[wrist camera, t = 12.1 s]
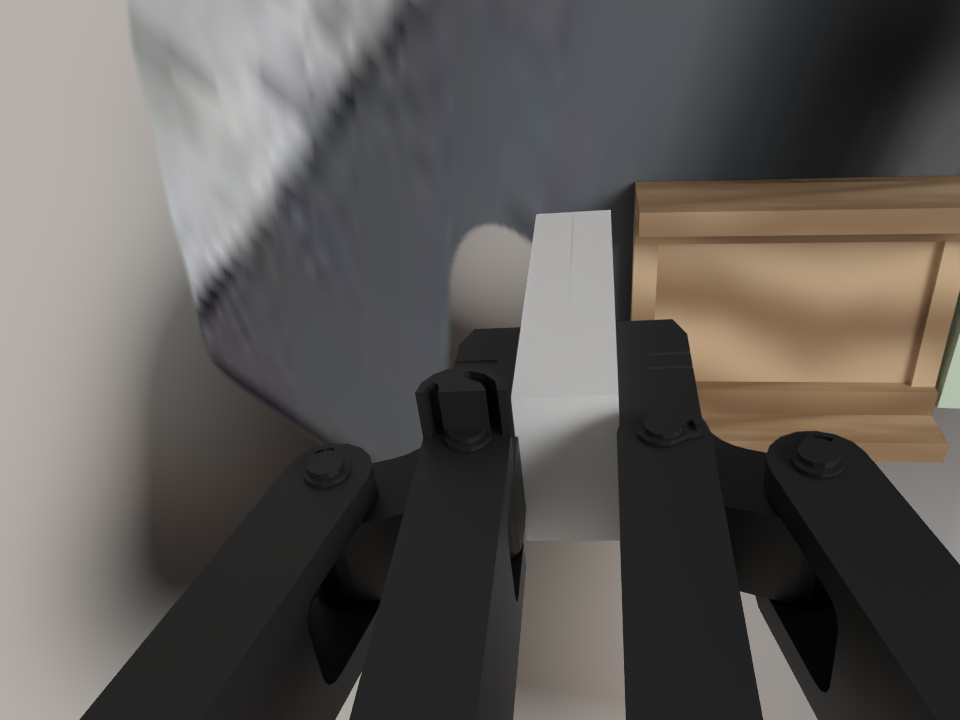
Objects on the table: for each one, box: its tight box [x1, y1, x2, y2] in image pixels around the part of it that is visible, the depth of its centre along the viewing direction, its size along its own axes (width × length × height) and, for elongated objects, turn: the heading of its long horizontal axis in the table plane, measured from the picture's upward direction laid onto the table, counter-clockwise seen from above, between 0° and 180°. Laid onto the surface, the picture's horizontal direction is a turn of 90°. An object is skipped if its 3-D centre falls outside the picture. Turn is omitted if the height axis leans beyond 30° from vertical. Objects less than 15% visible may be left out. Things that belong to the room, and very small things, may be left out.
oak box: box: [630, 176, 960, 463], centre depth 44 cm, size 14×16×4 cm
